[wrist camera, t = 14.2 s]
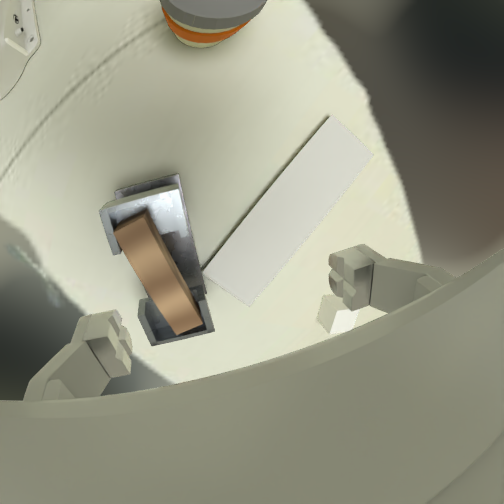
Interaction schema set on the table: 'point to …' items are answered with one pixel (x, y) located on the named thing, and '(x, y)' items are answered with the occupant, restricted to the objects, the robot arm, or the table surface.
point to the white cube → (336, 315)
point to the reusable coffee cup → (208, 19)
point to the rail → (158, 271)
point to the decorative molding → (289, 212)
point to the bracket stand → (176, 240)
